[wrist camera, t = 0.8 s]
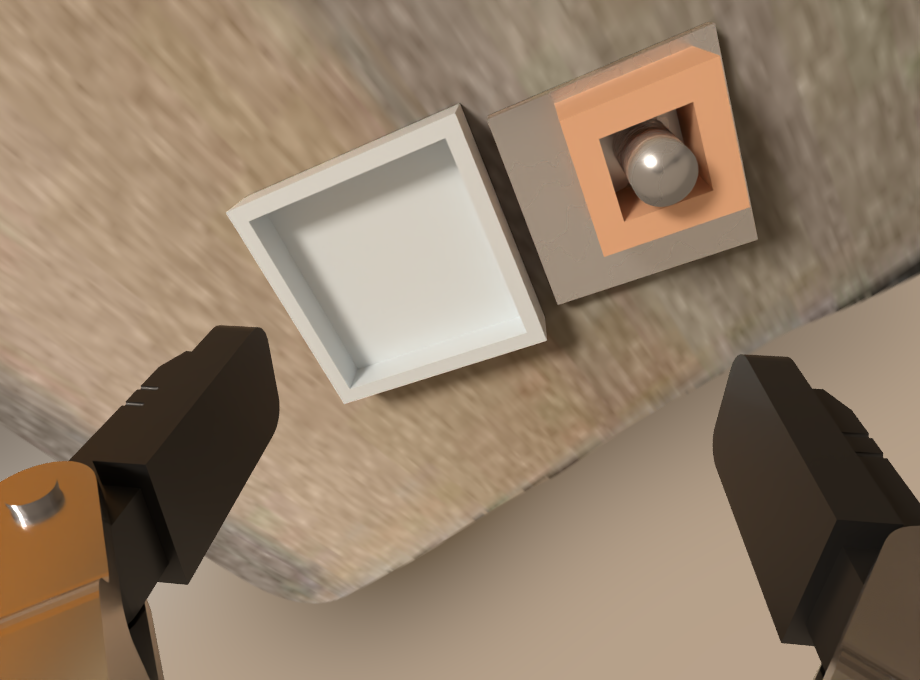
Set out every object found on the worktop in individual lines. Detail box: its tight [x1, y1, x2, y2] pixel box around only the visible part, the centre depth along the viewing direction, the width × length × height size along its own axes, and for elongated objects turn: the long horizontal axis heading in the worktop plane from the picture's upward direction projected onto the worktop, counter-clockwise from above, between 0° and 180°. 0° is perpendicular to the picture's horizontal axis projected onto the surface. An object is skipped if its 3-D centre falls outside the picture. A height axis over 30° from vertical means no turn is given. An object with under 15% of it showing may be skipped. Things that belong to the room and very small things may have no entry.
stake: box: [487, 22, 758, 305], centre depth 26 cm, size 10×10×6 cm
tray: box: [226, 103, 547, 404], centre depth 31 cm, size 12×12×2 cm
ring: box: [554, 46, 750, 257], centre depth 26 cm, size 6×6×4 cm
